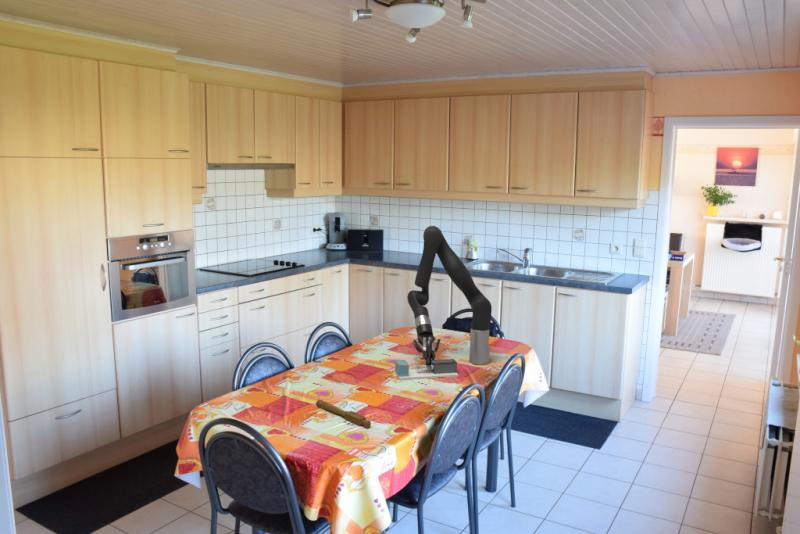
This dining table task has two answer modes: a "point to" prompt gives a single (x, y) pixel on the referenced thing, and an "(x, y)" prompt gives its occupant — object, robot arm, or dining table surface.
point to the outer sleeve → (444, 366)
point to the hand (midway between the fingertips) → (429, 359)
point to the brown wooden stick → (345, 414)
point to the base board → (425, 374)
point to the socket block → (401, 368)
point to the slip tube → (428, 365)
